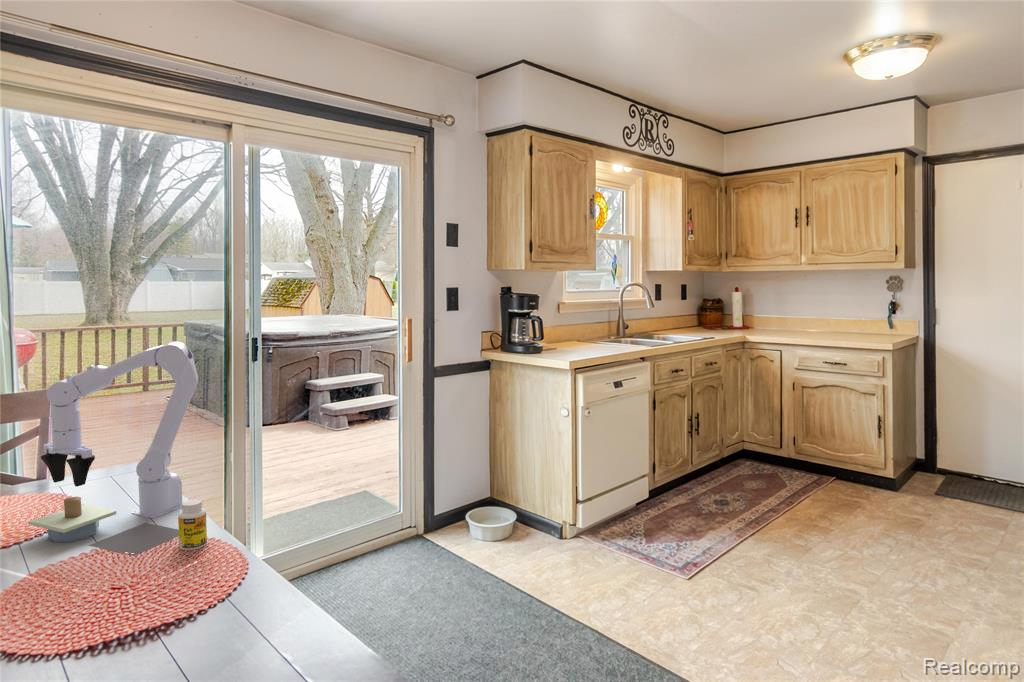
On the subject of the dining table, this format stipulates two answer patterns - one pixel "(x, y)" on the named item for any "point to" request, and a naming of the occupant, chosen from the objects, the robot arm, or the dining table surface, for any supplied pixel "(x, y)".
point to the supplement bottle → (192, 525)
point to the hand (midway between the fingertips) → (69, 483)
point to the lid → (72, 516)
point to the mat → (138, 539)
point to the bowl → (74, 533)
